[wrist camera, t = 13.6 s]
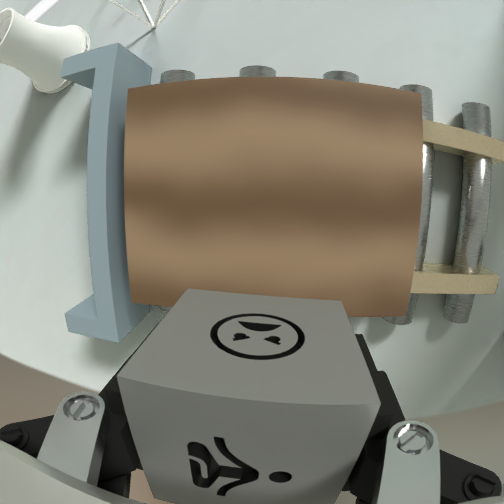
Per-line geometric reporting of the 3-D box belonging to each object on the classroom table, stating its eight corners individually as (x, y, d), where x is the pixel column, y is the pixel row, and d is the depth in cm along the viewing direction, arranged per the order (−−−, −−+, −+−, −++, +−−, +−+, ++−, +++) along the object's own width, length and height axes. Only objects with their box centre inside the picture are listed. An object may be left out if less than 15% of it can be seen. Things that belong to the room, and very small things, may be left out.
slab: (147, 98, 19) (127, 88, 16) (404, 103, 17) (421, 93, 14) (149, 287, 22) (131, 302, 19) (391, 299, 21) (405, 316, 18)
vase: (28, 91, 22) (-40, 77, 13) (54, 29, 20) (-6, 1, 11) (72, 96, 22) (-3, 76, 13) (102, 27, 20) (40, -13, 11)
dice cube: (188, 288, 10) (116, 375, 5) (341, 301, 10) (380, 404, 5) (193, 401, 11) (154, 497, 6) (317, 413, 11) (325, 518, 6)
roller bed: (150, 84, 22) (134, 74, 19) (491, 118, 19) (510, 113, 16) (148, 294, 26) (133, 307, 23) (471, 309, 23) (487, 322, 20)
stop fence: (103, 76, 22) (63, 58, 16) (152, 67, 21) (118, 42, 15) (103, 304, 27) (68, 331, 21) (149, 311, 26) (119, 342, 20)
